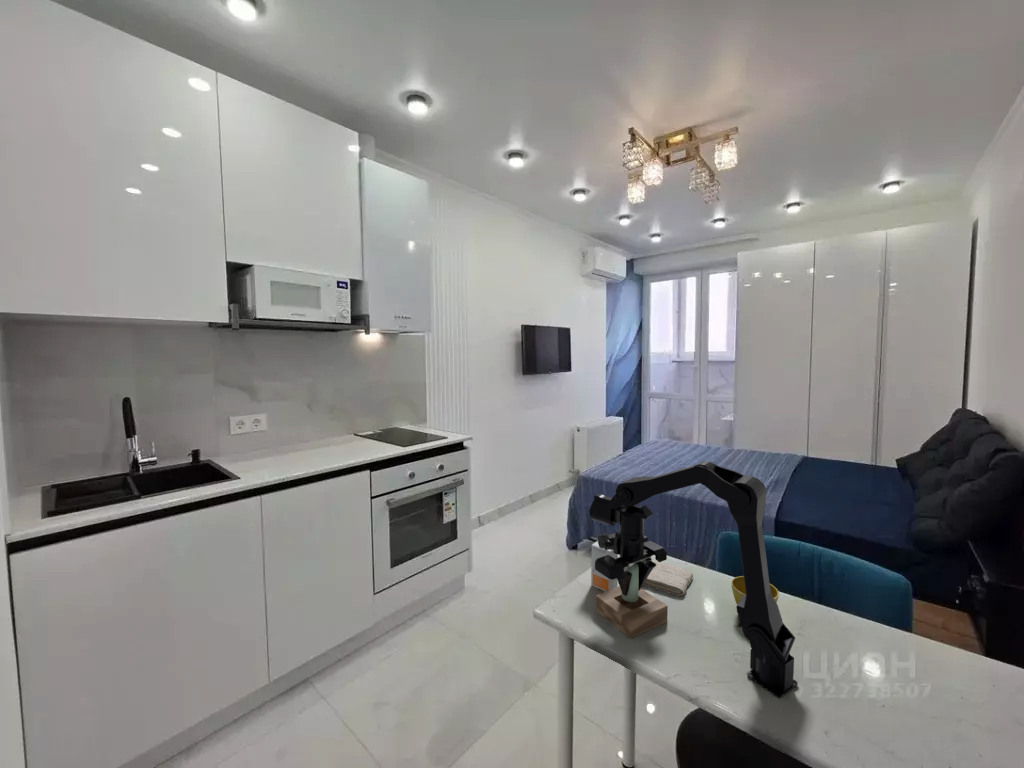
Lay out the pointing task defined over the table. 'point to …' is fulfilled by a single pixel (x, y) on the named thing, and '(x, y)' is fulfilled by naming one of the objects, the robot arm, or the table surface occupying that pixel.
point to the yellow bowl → (739, 590)
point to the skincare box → (596, 577)
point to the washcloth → (669, 578)
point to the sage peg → (633, 584)
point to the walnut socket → (631, 611)
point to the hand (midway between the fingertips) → (631, 592)
